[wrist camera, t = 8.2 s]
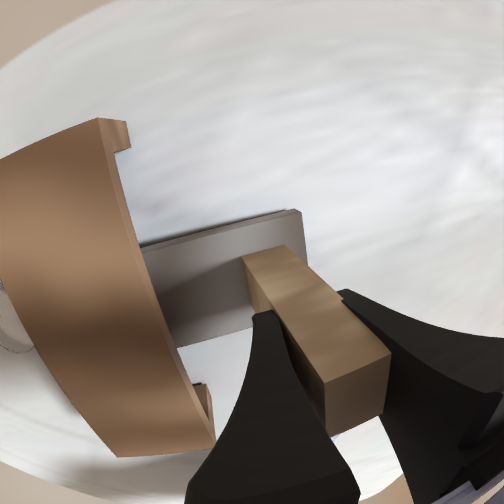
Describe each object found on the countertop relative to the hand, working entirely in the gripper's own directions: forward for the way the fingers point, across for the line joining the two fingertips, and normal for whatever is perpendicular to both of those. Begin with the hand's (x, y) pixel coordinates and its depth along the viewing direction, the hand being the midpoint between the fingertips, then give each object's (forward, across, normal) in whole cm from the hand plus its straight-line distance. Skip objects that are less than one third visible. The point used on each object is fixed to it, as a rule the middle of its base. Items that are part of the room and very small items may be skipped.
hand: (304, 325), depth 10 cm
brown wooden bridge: (+5, +8, 0) cm, 10 cm away
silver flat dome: (+6, +15, 0) cm, 16 cm away
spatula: (+5, +4, 0) cm, 6 cm away
